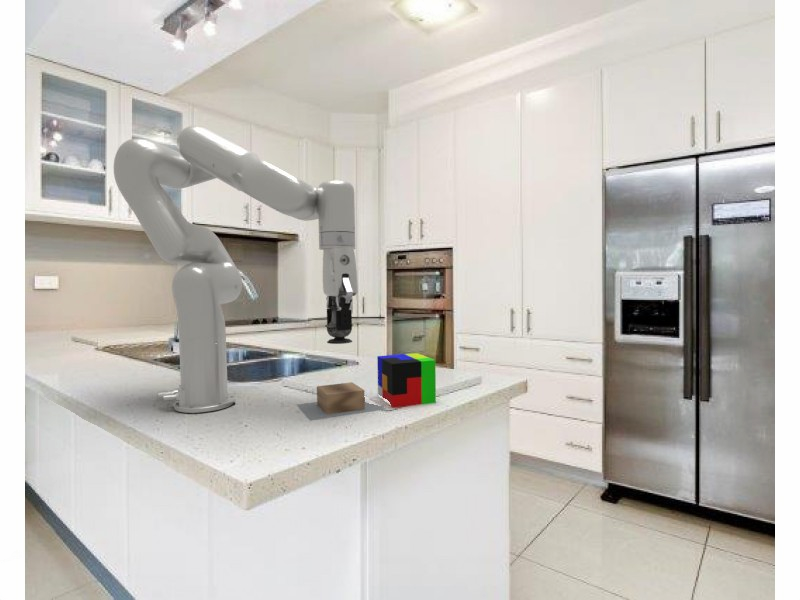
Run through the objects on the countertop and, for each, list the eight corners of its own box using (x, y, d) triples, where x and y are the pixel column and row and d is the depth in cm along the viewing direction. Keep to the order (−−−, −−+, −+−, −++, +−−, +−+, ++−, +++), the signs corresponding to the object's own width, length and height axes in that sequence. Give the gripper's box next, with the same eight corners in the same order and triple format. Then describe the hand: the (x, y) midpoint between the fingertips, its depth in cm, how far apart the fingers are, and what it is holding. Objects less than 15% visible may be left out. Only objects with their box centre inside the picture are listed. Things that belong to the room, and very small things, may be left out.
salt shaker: (320, 341, 96) (319, 285, 95) (345, 339, 99) (344, 284, 98) (333, 345, 91) (332, 285, 90) (358, 342, 94) (357, 284, 94)
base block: (327, 414, 90) (326, 394, 90) (317, 404, 98) (316, 386, 97) (364, 409, 94) (364, 390, 93) (352, 399, 101) (351, 382, 101)
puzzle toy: (378, 399, 104) (377, 356, 103) (417, 394, 107) (417, 353, 107) (392, 410, 95) (392, 363, 94) (435, 405, 98) (435, 360, 98)
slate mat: (309, 423, 87) (309, 420, 87) (296, 407, 98) (296, 404, 98) (386, 411, 94) (386, 409, 94) (365, 398, 104) (365, 395, 104)
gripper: (368, 239, 88) (370, 331, 89) (342, 245, 103) (343, 323, 104) (331, 238, 84) (333, 333, 85) (309, 244, 100) (311, 325, 101)
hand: (339, 327), depth 95 cm, fingers closed on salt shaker, 5 cm apart
